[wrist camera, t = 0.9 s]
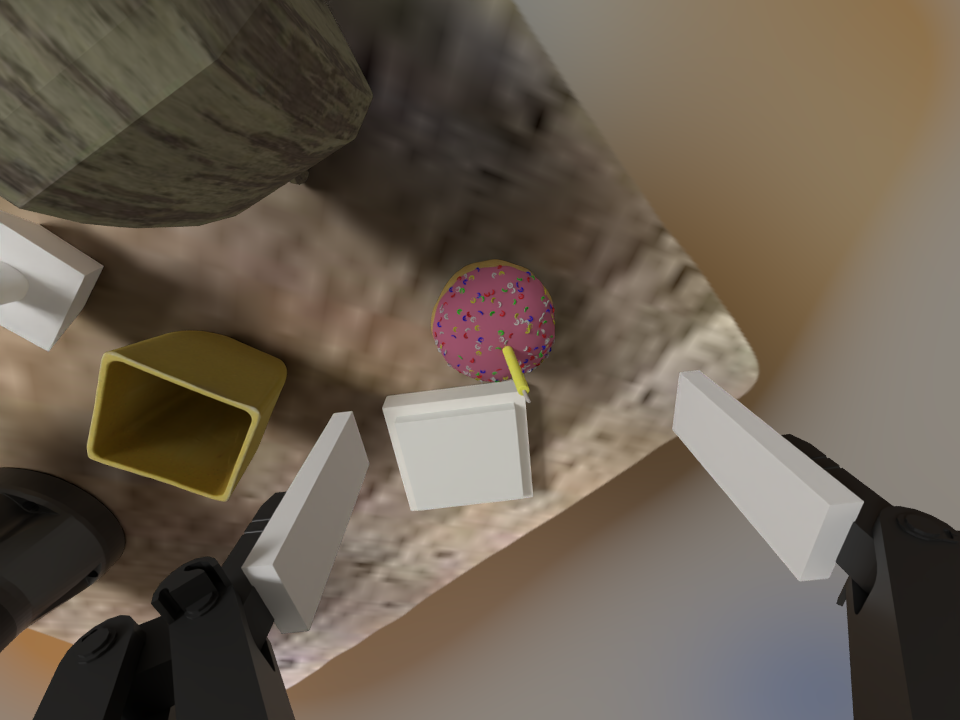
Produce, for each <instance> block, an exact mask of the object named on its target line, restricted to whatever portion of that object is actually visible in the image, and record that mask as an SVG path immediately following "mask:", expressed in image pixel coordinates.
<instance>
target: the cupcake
mask: <svg viewBox="0 0 960 720" xmlns="http://www.w3.org/2000/svg"><path fill="white" fill-rule="evenodd" d="M431 331H432V335H433V337H434V339H435V344H436V345H437V346H438V351H439V350H440V351H439V352H441V353H442V355H443V357H444V358H445V360H446V361H447V362H448V366H450V367H453V368H454V369H456V370H457V371H459V372H460V373H463V374H465V375H467V376H469V377H472V378H474V379H476V380H479V381H480V382H482V381H490V382H501V381H506V380H508V379H511V380H513V381H514V383H515V386H516V389H517V392H518V394H519V395H522V396H524V397H525V399H526V401H527V403H530V402H531V401H530V399H529V396H528V393H529V387H528V384H527V382H526V380H525V377H524V375H523V374H524V373H526V372H528V373H529V372H531V371H532V370H533V369H536V368H537V366H539V365H540V364H539V363H542V362H543V359H544V358H548V357H549V354H548V352H550V351H551V346H552V344H554V343H555V340H554V339H555V322H554V307H553V303H552V299H551V296H550V294H549V292H548V291H547V289H546V288H545V287H544V286H543V284H542V283H541V282H540V281H539V280H538V279H537V278H536V277H535V276H534V275H533V274H532V272H531V271H530V270H528V269H526V268H524V267H521V266H518V265H515V264H512V263H509V262H506V261H503V260H499V259H491V260H487V261H482V262H476V263H472V264H469V265H467V266H465V267H463V268H462V269H460V270H459V271H458V272H456V273H455V274H454V275H453V276H452V277H451V279H450V280H449V281H448V282H447V284H446V285H445V287H444V289H443V291H442V292H441V294H440V296H439V299H438V301H437V303H436V305H435V306H434V308H433V312H432V318H431Z"/></svg>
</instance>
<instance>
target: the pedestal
mask: <svg viewBox="0 0 960 720" xmlns="http://www.w3.org/2000/svg"><path fill="white" fill-rule="evenodd" d="M382 409H383V413H384V417H385V420H386V424H387V427H388V431H389V434H390V438H391V441H392V445H393V448H394V452H395V456H396V459H397V463H398V466H399V470H400V473H401V477H402V480H403V484H404V488H405V491H406V495H407V498H408V502H409V505H410V509H411V511H416V510H418V511H420V510H428V509H437V508H446V507H454V506H463V505H472V504H480V503H489V502H498V501H506V500H515V499H524V498H528V497H533V490H532V477H531V465H530V452H529V440H528V427H527V415H526V402H525V397H524V396H522V395H519V394H518V392H517V389H516V386H515V383H514V381H504V382H496V383H488V384H480V385H472V386H464V387H456V388H447V389H439V390H431V391H423V392H415V393H407V394H399V395H390V396H387V397H386V400H385V402H384V405H383V407H382Z"/></svg>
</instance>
